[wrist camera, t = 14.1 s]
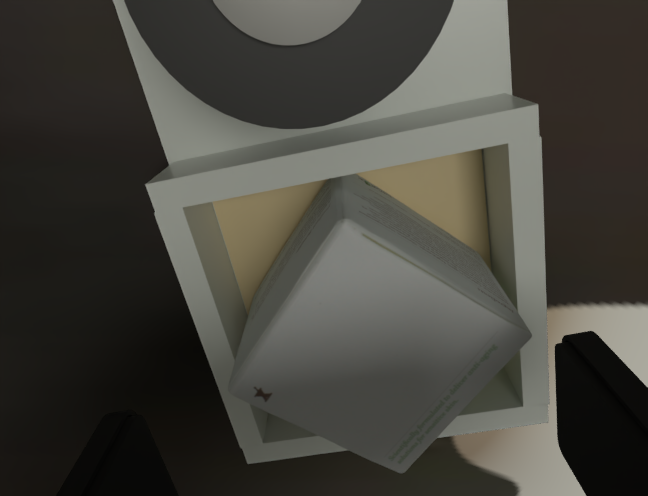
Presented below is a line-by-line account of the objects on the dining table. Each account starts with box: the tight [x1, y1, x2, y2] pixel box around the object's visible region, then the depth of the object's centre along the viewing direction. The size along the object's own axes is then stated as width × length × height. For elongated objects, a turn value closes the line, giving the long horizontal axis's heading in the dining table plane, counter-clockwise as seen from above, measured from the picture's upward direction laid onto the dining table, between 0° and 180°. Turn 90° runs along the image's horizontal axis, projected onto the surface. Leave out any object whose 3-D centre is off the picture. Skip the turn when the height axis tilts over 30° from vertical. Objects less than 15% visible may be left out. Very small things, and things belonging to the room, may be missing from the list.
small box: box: [228, 173, 532, 473], centre depth 14 cm, size 6×6×5 cm
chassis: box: [113, 0, 549, 464], centre depth 14 cm, size 18×10×4 cm, turn 12°
